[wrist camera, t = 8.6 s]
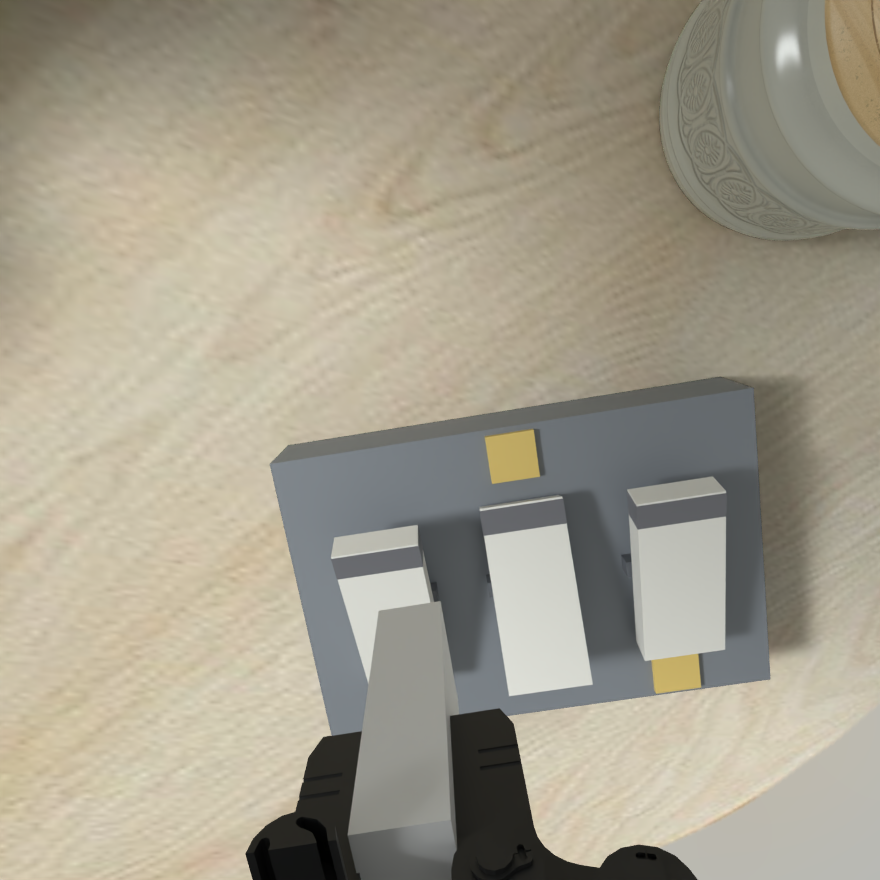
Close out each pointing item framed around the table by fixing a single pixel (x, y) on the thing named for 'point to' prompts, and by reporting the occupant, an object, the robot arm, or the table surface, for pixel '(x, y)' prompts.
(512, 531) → the rocker mid
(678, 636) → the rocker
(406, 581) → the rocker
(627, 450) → the switch unit
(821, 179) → the jar
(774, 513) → the table surface
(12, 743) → the table surface
